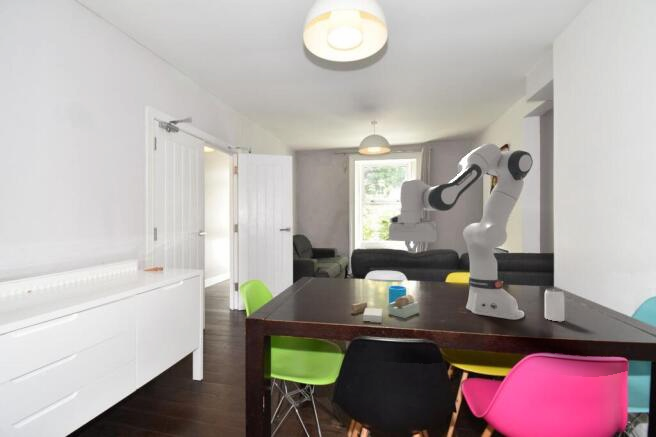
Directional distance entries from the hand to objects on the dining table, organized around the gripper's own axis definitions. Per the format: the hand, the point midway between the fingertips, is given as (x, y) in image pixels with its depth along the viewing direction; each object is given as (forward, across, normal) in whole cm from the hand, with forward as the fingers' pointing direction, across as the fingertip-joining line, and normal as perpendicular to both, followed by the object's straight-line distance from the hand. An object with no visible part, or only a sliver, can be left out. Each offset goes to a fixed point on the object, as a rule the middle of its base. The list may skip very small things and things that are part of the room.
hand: (411, 252), depth 126 cm
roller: (+24, +6, -3) cm, 25 cm away
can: (+27, -41, -40) cm, 63 cm away
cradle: (+27, +6, -3) cm, 28 cm away
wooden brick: (+27, +21, +8) cm, 35 cm away
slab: (+27, +11, +11) cm, 31 cm away
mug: (+27, +17, -15) cm, 35 cm away
